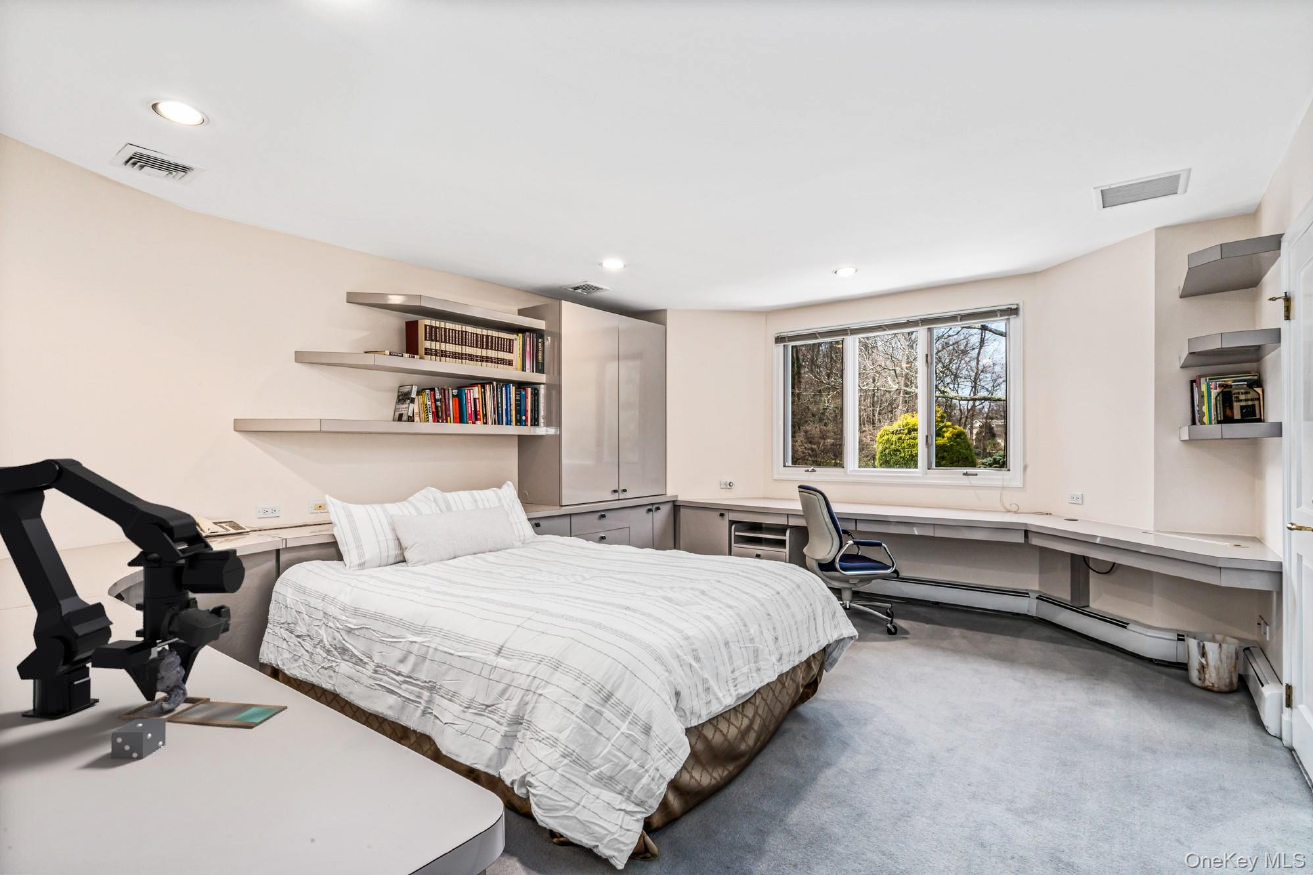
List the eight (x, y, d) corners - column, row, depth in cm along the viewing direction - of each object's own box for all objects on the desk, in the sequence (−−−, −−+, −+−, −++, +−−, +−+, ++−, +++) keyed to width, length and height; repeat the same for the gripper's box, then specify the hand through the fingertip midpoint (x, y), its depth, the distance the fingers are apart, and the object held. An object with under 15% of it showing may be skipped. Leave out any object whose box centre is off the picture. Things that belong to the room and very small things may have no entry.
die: (109, 764, 82) (110, 731, 82) (135, 748, 87) (135, 717, 87) (143, 763, 82) (143, 731, 83) (166, 747, 87) (167, 717, 87)
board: (163, 721, 94) (163, 719, 94) (202, 702, 101) (202, 700, 101) (253, 727, 92) (253, 725, 92) (287, 708, 99) (287, 706, 99)
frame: (117, 720, 95) (117, 716, 95) (165, 698, 103) (165, 695, 103) (165, 723, 94) (165, 719, 94) (209, 701, 102) (209, 697, 102)
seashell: (162, 719, 95) (163, 653, 95) (133, 716, 96) (134, 650, 96) (195, 705, 100) (195, 642, 100) (167, 702, 101) (168, 640, 102)
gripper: (157, 612, 88) (157, 724, 88) (258, 582, 107) (258, 674, 107) (87, 609, 90) (87, 719, 90) (199, 580, 108) (199, 671, 108)
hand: (166, 694), depth 98 cm, fingers closed on seashell, 5 cm apart
